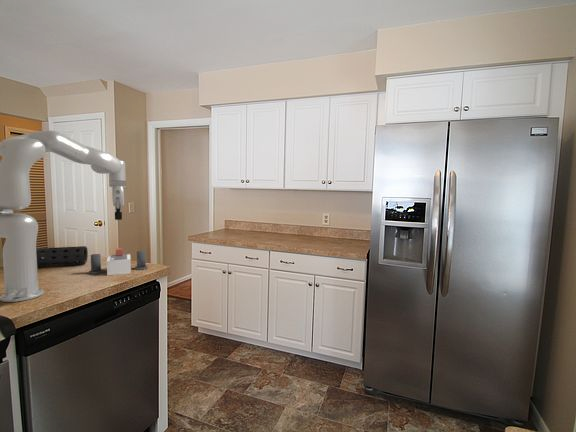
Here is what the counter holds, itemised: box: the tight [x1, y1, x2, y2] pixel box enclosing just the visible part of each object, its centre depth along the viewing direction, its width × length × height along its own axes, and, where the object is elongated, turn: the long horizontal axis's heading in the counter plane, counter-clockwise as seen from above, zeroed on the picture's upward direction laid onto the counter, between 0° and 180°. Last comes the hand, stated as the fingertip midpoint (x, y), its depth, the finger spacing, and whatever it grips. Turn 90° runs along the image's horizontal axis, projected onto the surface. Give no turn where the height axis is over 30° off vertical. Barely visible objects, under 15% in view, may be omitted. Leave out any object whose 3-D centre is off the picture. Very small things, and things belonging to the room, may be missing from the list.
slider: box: [115, 248, 124, 256], centre depth 156 cm, size 2×3×3 cm
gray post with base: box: [88, 253, 104, 275], centre depth 149 cm, size 6×6×9 cm
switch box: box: [106, 253, 132, 276], centre depth 153 cm, size 12×10×7 cm
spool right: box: [134, 250, 149, 271], centre depth 158 cm, size 6×6×9 cm
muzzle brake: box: [36, 245, 89, 269], centre depth 159 cm, size 10×28×10 cm, turn 111°
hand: (118, 219), depth 159 cm, fingers closed
